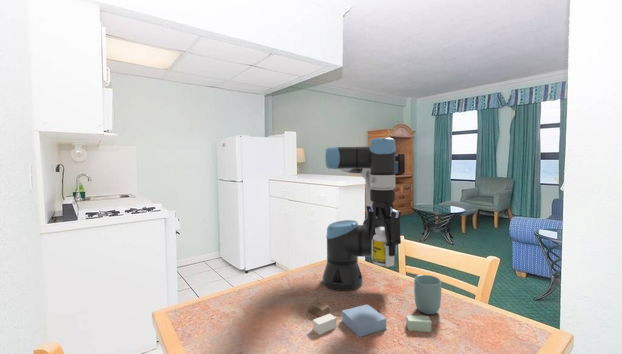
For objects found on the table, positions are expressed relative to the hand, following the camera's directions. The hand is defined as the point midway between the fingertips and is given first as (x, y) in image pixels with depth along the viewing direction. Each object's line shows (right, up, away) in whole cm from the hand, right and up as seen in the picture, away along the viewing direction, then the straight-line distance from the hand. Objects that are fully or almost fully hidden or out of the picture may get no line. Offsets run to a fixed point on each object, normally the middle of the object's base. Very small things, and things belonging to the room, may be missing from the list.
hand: (382, 262), depth 93 cm
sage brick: (+8, -16, -10) cm, 20 cm away
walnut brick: (-20, -16, -1) cm, 25 cm away
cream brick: (-18, -16, -9) cm, 26 cm away
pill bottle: (0, -1, 0) cm, 1 cm away
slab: (-7, -16, -8) cm, 19 cm away
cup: (+14, -15, -1) cm, 20 cm away
